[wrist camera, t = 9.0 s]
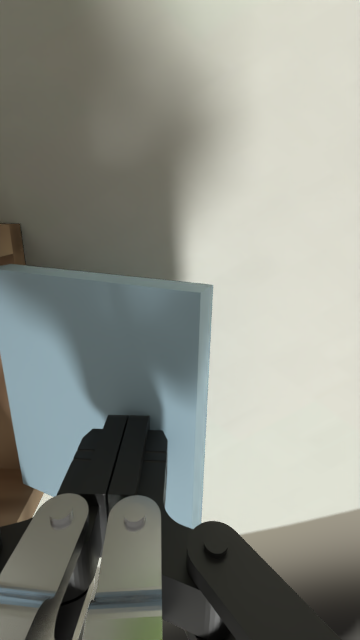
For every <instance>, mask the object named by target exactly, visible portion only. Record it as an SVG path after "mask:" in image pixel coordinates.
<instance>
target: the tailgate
mask: <svg viewBox="0 0 360 640" xmlns="http://www.w3.org/2000/svg"><path fill="white" fill-rule="evenodd" d="M212 297H213V285H209V284H200V283H190V282H180V281H171V280H161V279H152V278H142V277H132V276H123V275H113V274H103V273H94V272H84V271H74V270H65V269H55V268H45V267H36V266H26V265H17V264H8V265H1V266H0V354H1V360H2V366H3V372H4V377H5V383H6V389H7V394H8V400H9V406H10V411H11V417H12V423H13V429H14V434H15V440H16V446H17V451H18V457H19V463H20V468H21V474H22V480H23V484H25V485H28V486H30V487H32V488H35V489H37V490H39V491H41V492H44V493H46V494H48V495H51V496H53V497H55V496H56V495H57V493H58V491H59V488H60V486H61V484H62V482H63V480H64V477H65V475H66V473H67V471H68V469H69V466H70V464H71V462H72V461H73V458H74V455H75V453H76V451H77V449H78V447H79V444H80V442H81V440H82V438H83V437H84V436H85V435H86V434H87V433H88V432H89V431H90V430H92V429H103V427H104V424H105V422H106V419H107V416H108V415H129V416H130V415H144V416H150V430H163V432H164V434H165V436H166V438H167V440H168V457H167V486H166V501H165V510H166V512H167V513H168V515H169V516H170V517H171V518H172V519H173V520H174V521H176V522H177V523H179V524H181V525H183V526H186V527H189V528H191V529H194V528H195V527H196V526H198V525H199V524H201V517H202V497H203V477H204V457H205V437H206V417H207V397H208V377H209V357H210V337H211V317H212Z"/></svg>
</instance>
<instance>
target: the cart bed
mask: <svg viewBox="0 0 360 640" xmlns="http://www.w3.org/2000/svg"><path fill="white" fill-rule="evenodd" d="M8 264H17V265H26V264H25V257H24V250H23V242H22V235H21V227H20V224H6V223H0V266H1V265H8ZM43 494H44V492H41V491H39V490H37V489H35V488H32V487H30V486H28V485H25V484H23V480H22V474H21V468H20V463H19V457H18V451H17V446H16V440H15V434H14V429H13V423H12V417H11V411H10V406H9V400H8V394H7V389H6V383H5V377H4V372H3V366H2V360H1V354H0V527H2V526H6V525H10V524H13V523H17V522H21V521H25V520H28V519H30V518H32V517H33V515H34V512H35V510H36V508H37V506H38V504H39V502H40V500H41V498H42V496H43Z"/></svg>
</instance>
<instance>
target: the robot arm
mask: <svg viewBox="0 0 360 640" xmlns="http://www.w3.org/2000/svg"><path fill="white" fill-rule="evenodd" d="M167 457H168V440H167V438H166V436H165V434H164V432H163V430H150V416H144V415H130V416H129V415H108V416H107V419H106V422H105V424H104V427H103V429H92V430H90V431H89V432H88V433H87V434H86V435H85V436H84V437H83V438H82V440H81V442H80V444H79V447H78V449H77V451H76V453H75V455H74V458H73V461H72V462H71V464H70V466H69V469H68V471H67V473H66V475H65V477H64V480H63V482H62V484H61V486H60V488H59V491H58V493H57V495H56V496H55V497H53V498H51V499H49V500H48V501H46V502H45V503H44V504H43V505H42V506H41V507H40V508H39V509H38V511H37V512H36V514H35V515H34V517H33V518H30V519H28V520H25V521H21V522H17V523H13V524H10V525H6V526H2V527H0V640H78V638H79V635H80V631H81V628H82V625H83V622H84V619H85V615H86V612H87V609H88V612H87V617H86V622H85V627H84V633H83V638H82V640H162V619H163V620H165V621H167V622H169V623H171V624H173V625H176V626H178V627H180V628H182V629H184V630H185V632H186V635H187V637H188V640H342V639H340V637H339V636H338V635H337V634H336V633H335V632H334V631H333V630H332V629H331V628H330V627H329V626H328V625H327V624H326V623H325V622H324V621H323V620H322V619H321V618H320V617H319V616H318V615H317V614H316V613H315V612H314V611H313V610H312V609H311V608H310V607H309V606H308V605H307V604H306V603H305V602H304V601H303V600H302V599H301V598H300V597H299V596H298V595H297V593H295V591H294V590H293V589H292V588H291V587H290V586H289V585H288V584H287V583H286V582H285V581H284V580H283V579H282V578H281V577H280V576H279V575H278V574H277V573H276V572H275V571H274V570H273V569H272V568H271V567H270V566H269V565H268V564H267V563H266V562H265V561H264V560H263V559H262V558H261V557H260V556H259V555H258V554H257V553H256V552H255V551H254V550H253V549H252V547H251V546H250V545H249V544H247V543H246V542H245V540H244V539H243V538H242V537H241V536H240V535H239V534H238V533H237V532H236V531H235V530H234V529H232V528H231V527H230V526H228V525H226V524H224V523H221V522H216V521H208V522H204V523H201V524H199V525H198V526H196V527H195V528H194V529H191V528H189V527H186V526H183V525H181V524H179V523H177V522H176V521H174V520H173V519H172V518H171V517H170V516H169V515H168V513H167V512H166V510H165V501H166V486H167ZM99 557H102V558H101V564H100V571H99V577H98V582H97V589H96V594H95V598H94V600H92V601H91V602H90V599H91V596H92V593H93V590H94V584H95V580H94V576H95V572H96V569H97V565H98V560H99ZM89 603H90V604H89ZM88 605H89V608H88Z"/></svg>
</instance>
